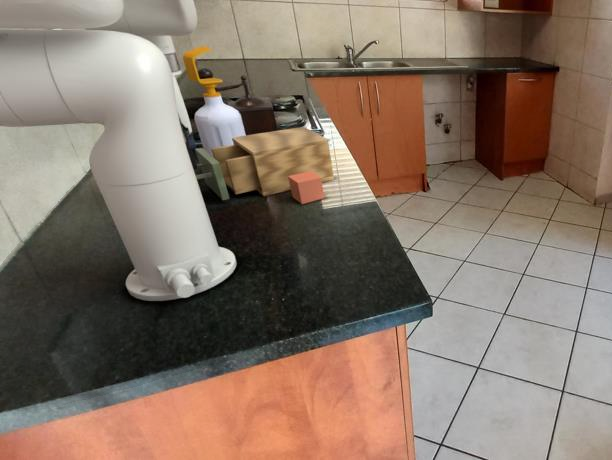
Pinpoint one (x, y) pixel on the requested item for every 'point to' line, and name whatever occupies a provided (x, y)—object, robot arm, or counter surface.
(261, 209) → the counter surface
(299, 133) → the cabinet
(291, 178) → the block
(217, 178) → the drawer
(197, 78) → the soap bottle
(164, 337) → the counter surface
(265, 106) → the pepper mill
